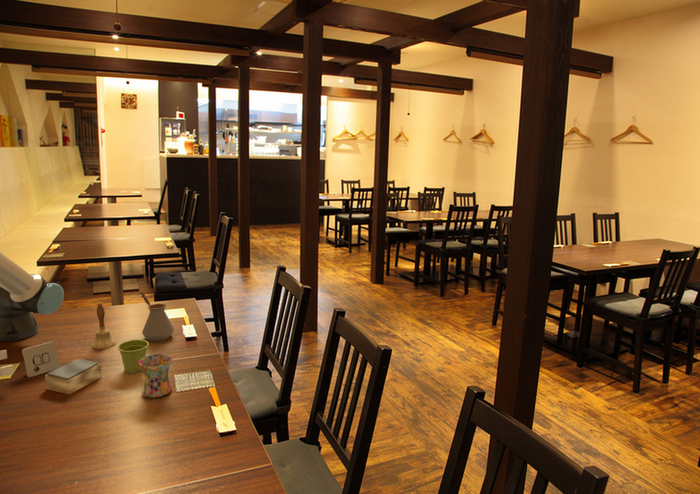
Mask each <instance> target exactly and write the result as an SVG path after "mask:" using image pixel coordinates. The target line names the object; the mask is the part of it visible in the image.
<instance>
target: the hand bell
mask: <svg viewBox="0 0 700 494" xmlns="http://www.w3.org/2000/svg"><path fill="white" fill-rule="evenodd" d="M105 314H106V313H105V308H104V305H103V304H102V303H98V304H97V308H96V316H97V319H98V323H99V329H98V330H97V331H95V338H94V341H93V342H91V348H92V349H96V350H102V349H109V348H111V347H113V346H115V345H116V344H117V341H116V339H113V337H112V336H111V332H110V329H108V328H106V326H105V325H106V324H105Z"/></svg>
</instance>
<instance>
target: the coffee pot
mask: <svg viewBox="0 0 700 494" xmlns="http://www.w3.org/2000/svg"><path fill="white" fill-rule="evenodd" d="M138 295H140V296H141V298H143V300H144V302H145V303H146V304H147V305H148V307H147V309H148V310H149V314H148V316H147V319H146V322H145V324H144V327H143V330H142V331H141V332H142V335H143V337H145V338H146V339H148V340H149V341H151V342H162V341H165V340H167V339H169V338H170V336H172V335H173V334H174V331H175V328H174V326H173V324H172V322H171V320H170V319H169V317H168V315H167V313H166V311H165V308H166V307H167V304H164V303H154V304H151V302H150V300H149V299H148V297H146V294H145V293H144V292H142V291H141V292H140V293H138Z"/></svg>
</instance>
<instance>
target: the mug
mask: <svg viewBox="0 0 700 494" xmlns="http://www.w3.org/2000/svg"><path fill="white" fill-rule="evenodd" d="M172 360H173V357H172V356H171V355H169V354H166V353H152V354H149V355H146V357H144V358H142V359H141V360H140V361H139V366H140V367H141V369H142V371H141V372H142V374H143V379H144V382H143V383H144V384H143V387H142V390H141V393H142V395H143V396H144V397H146V398H160V397H164V396H166V395H168V394H169V393H170V392H171V391H172V389H173V386H172V384H171V383H170V379H169V370H170V366H171V364H172Z"/></svg>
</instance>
